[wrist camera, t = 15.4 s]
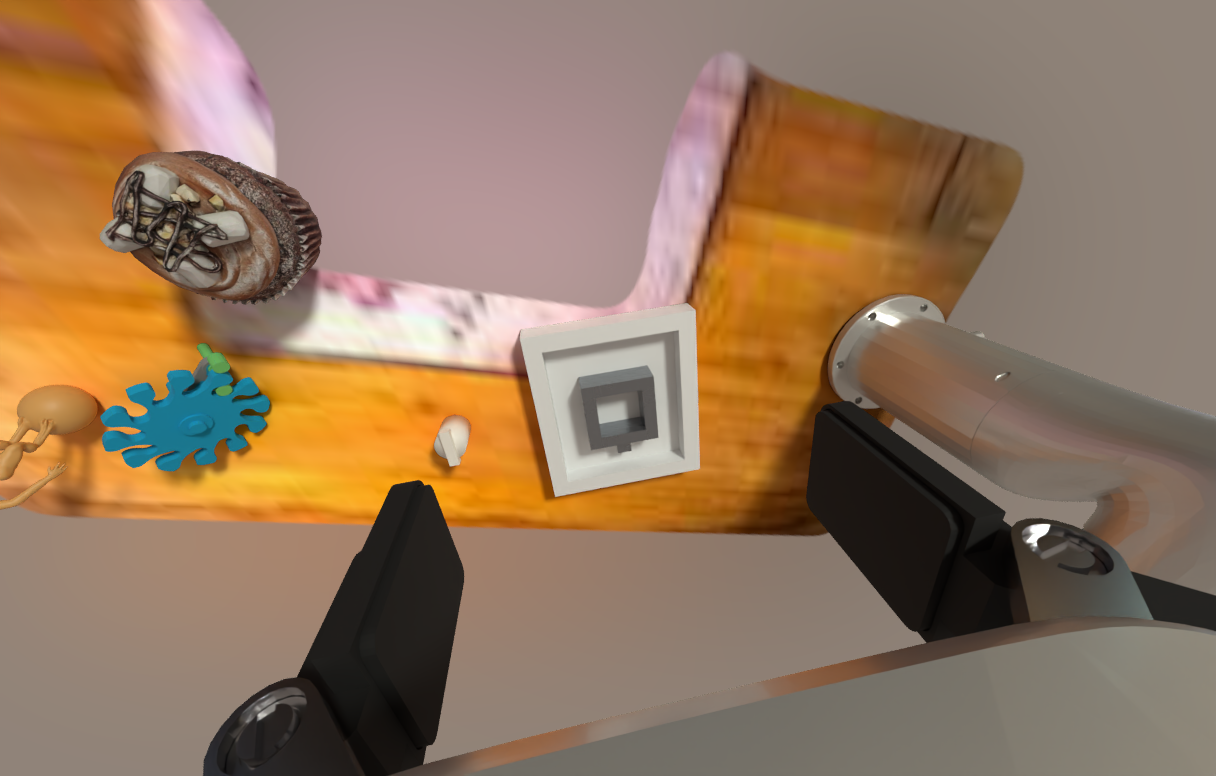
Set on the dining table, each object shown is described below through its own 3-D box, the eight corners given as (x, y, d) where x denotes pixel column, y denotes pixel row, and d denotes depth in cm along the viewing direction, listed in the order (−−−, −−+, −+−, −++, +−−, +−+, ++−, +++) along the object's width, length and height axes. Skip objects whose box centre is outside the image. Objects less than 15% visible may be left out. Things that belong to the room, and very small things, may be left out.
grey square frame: (647, 365, 42) (653, 376, 40) (653, 437, 46) (659, 450, 44) (578, 377, 42) (580, 388, 39) (590, 448, 45) (593, 463, 43)
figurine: (136, 383, 37) (-28, 469, 26) (151, 443, 39) (7, 544, 28) (11, 369, 35) (-222, 456, 24) (34, 433, 37) (-168, 537, 26)
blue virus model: (240, 473, 40) (76, 480, 31) (216, 432, 42) (57, 427, 33) (301, 378, 38) (149, 355, 29) (273, 340, 41) (124, 308, 31)
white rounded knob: (465, 409, 42) (459, 430, 39) (475, 439, 44) (470, 462, 40) (436, 414, 42) (427, 435, 38) (447, 444, 43) (439, 468, 40)
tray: (686, 302, 41) (695, 310, 38) (692, 455, 49) (699, 468, 46) (520, 329, 39) (519, 338, 37) (554, 481, 47) (555, 496, 45)
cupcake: (177, 251, 33) (43, 279, 24) (206, 125, 30) (66, 103, 21) (312, 310, 36) (240, 355, 27) (351, 202, 33) (284, 212, 24)
